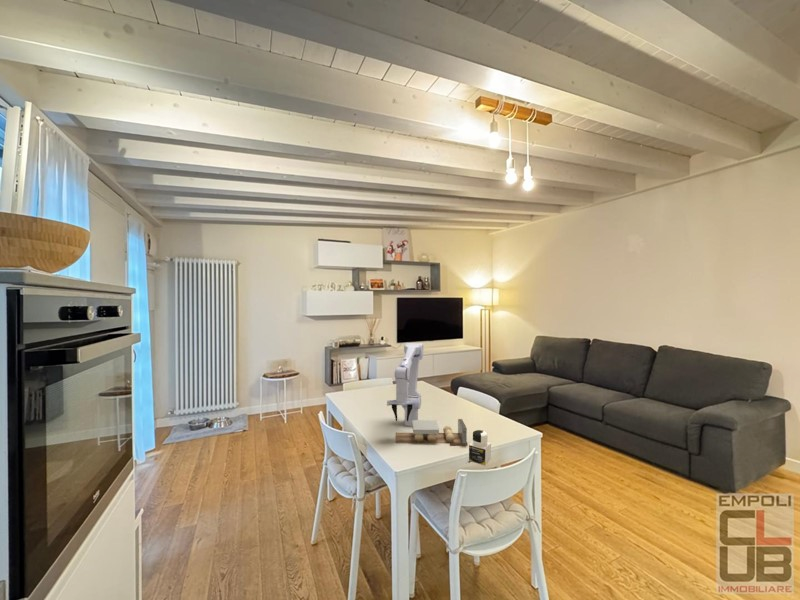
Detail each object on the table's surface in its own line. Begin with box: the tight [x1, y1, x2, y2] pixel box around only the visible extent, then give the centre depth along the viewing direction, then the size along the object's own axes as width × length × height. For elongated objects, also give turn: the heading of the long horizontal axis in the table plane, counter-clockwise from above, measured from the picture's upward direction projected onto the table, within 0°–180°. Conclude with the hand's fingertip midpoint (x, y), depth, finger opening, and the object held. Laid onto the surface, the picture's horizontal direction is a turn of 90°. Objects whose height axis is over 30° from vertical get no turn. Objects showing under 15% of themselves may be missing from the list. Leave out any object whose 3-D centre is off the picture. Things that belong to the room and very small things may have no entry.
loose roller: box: [442, 425, 455, 443], centre depth 162 cm, size 10×4×4 cm, turn 0°
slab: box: [411, 419, 440, 434], centre depth 162 cm, size 12×12×2 cm
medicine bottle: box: [468, 429, 492, 466], centre depth 142 cm, size 7×7×12 cm
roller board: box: [395, 418, 469, 447], centre depth 162 cm, size 12×34×8 cm, turn 90°
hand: (402, 420), depth 162 cm, fingers open, 5 cm apart
